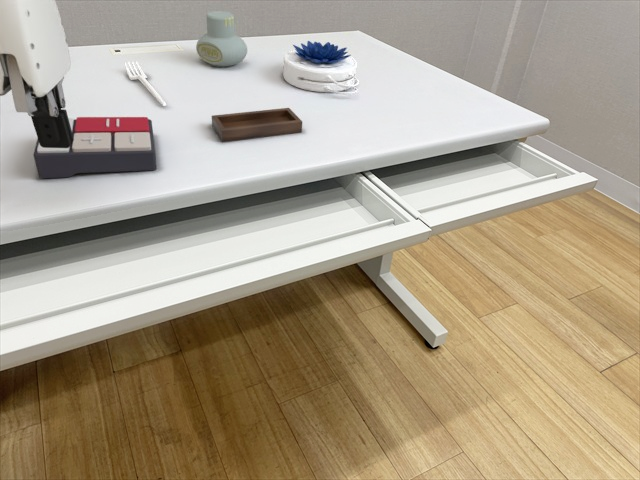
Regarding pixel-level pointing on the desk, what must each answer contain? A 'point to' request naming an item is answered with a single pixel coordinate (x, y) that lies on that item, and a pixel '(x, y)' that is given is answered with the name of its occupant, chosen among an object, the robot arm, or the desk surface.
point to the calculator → (100, 148)
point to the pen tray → (256, 124)
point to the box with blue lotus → (320, 68)
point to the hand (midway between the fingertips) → (57, 144)
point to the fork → (143, 81)
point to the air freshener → (221, 41)
